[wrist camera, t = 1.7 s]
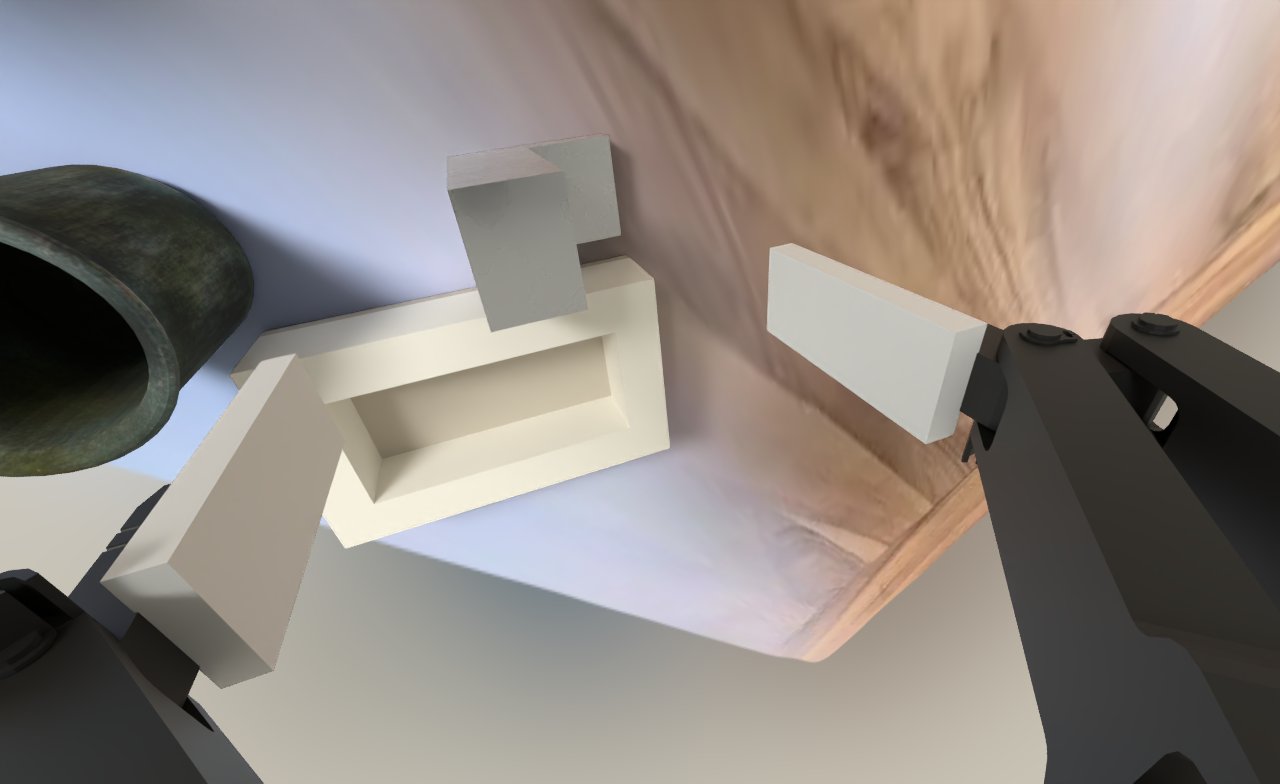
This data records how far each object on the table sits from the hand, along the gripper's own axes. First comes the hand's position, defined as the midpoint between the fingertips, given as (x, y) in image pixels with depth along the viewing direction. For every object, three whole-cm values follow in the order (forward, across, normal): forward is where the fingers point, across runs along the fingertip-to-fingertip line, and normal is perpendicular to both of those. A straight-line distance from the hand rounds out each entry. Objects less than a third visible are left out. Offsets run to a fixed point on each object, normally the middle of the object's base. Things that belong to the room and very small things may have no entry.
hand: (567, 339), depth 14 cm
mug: (+22, -21, +1) cm, 30 cm away
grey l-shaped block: (+21, +2, 0) cm, 22 cm away
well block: (+21, -4, -12) cm, 25 cm away
